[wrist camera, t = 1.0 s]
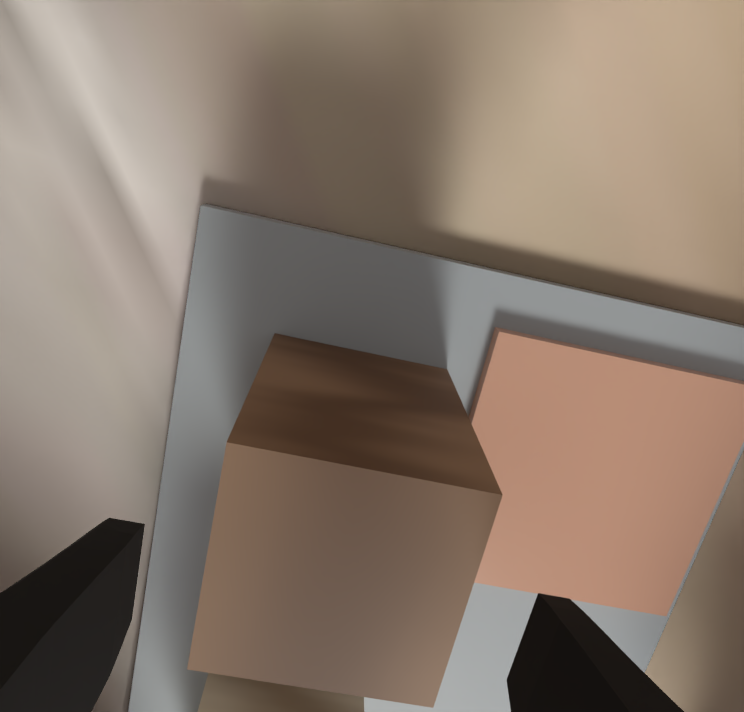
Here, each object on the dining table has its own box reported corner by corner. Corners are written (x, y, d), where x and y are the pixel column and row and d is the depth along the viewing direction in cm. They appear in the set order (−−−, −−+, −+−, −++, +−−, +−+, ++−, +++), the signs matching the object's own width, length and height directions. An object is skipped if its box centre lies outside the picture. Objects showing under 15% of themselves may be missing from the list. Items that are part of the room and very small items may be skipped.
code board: (779, 333, 19) (793, 339, 18) (552, 853, 25) (557, 870, 24) (205, 203, 17) (200, 205, 16) (119, 795, 23) (113, 811, 23)
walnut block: (447, 369, 18) (502, 494, 11) (405, 518, 19) (433, 707, 13) (274, 333, 18) (226, 442, 11) (245, 489, 19) (186, 669, 12)
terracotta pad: (755, 383, 18) (766, 389, 18) (659, 605, 21) (666, 616, 20) (495, 326, 18) (499, 331, 17) (424, 564, 20) (427, 574, 20)
